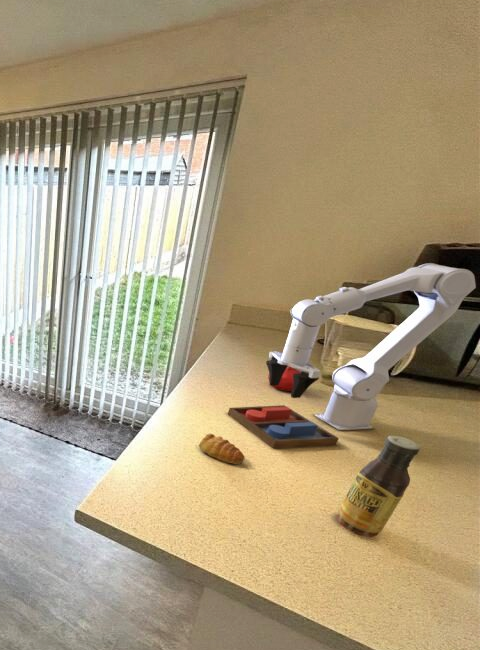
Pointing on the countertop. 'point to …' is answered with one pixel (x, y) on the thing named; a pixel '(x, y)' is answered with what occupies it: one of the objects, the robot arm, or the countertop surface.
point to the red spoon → (268, 414)
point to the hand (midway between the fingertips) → (284, 391)
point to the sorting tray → (261, 428)
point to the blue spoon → (292, 430)
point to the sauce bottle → (378, 488)
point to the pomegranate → (286, 379)
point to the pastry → (221, 449)
